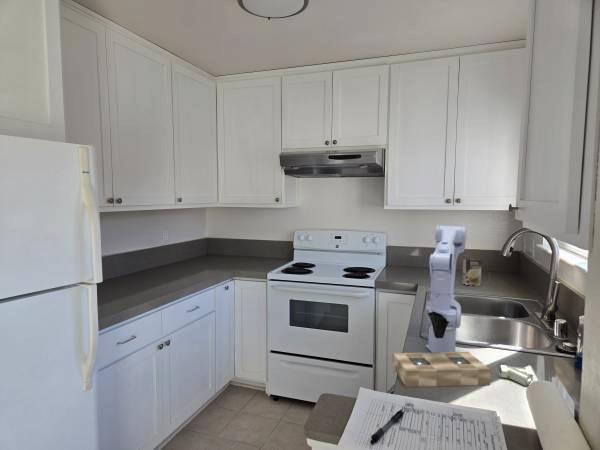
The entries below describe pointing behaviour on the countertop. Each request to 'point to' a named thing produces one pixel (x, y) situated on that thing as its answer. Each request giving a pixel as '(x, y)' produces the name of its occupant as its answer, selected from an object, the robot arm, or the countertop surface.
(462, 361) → the peg
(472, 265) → the coffee box
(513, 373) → the pipe fitting
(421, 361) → the peg
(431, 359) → the socket block
